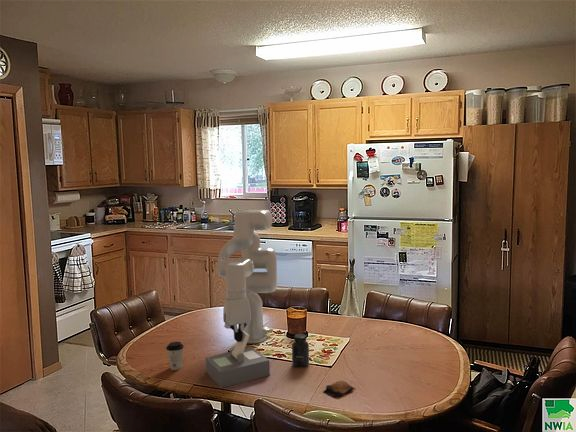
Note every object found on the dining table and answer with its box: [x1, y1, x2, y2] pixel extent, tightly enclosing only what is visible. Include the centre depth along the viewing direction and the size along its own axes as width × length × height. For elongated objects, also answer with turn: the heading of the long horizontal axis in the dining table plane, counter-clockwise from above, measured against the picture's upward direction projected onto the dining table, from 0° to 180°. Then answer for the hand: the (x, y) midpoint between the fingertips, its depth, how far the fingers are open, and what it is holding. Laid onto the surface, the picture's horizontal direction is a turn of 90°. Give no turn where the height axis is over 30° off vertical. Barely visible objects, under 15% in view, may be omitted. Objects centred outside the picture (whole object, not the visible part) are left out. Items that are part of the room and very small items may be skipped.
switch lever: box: [231, 331, 250, 359], centre depth 190 cm, size 2×5×10 cm, turn 29°
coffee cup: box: [165, 341, 184, 371], centre depth 197 cm, size 7×7×10 cm
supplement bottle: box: [291, 333, 310, 368], centre depth 196 cm, size 7×7×12 cm
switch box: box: [205, 346, 271, 389], centre depth 189 cm, size 20×16×9 cm
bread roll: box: [322, 380, 356, 399], centre depth 173 cm, size 11×8×4 cm
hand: (238, 340), depth 189 cm, fingers closed
